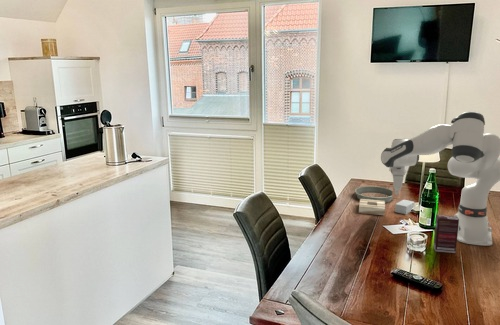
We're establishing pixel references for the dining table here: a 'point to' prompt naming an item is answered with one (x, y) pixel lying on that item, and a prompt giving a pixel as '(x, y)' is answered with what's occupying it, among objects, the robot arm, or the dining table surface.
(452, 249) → the supplement box
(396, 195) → the peg
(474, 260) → the dining table surface
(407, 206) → the grey rectangular block
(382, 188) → the cake pan
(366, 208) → the socket board
